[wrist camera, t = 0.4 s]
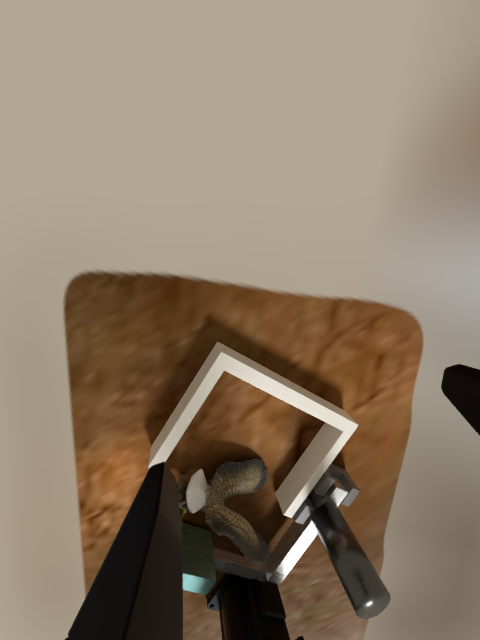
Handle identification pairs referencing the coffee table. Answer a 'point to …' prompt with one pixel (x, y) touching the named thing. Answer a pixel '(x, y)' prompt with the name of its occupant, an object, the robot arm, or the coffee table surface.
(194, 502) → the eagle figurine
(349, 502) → the cradle
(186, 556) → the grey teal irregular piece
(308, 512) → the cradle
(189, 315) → the coffee table surface
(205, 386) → the frame
